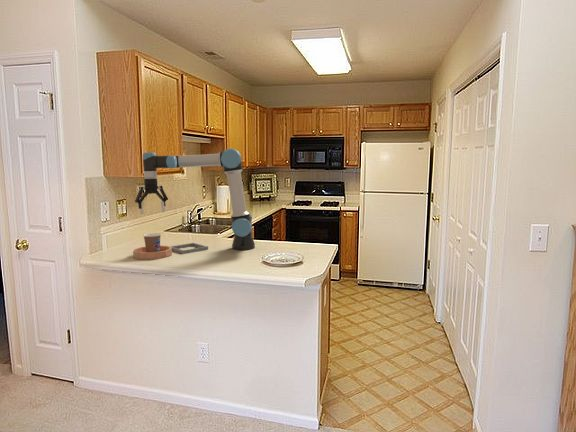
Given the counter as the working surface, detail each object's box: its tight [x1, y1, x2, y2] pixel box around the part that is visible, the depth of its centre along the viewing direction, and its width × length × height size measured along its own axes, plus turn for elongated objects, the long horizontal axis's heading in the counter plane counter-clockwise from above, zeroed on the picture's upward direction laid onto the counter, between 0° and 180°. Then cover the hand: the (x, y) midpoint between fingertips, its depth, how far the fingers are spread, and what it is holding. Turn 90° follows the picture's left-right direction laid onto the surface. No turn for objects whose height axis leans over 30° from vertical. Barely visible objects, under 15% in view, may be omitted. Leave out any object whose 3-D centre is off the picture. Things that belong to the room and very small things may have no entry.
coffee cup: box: [143, 232, 162, 253], centre depth 242 cm, size 10×10×12 cm
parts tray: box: [170, 242, 209, 255], centre depth 259 cm, size 18×18×2 cm
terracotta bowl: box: [132, 244, 173, 261], centre depth 242 cm, size 22×22×4 cm
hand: (152, 213), depth 243 cm, fingers open, 13 cm apart
